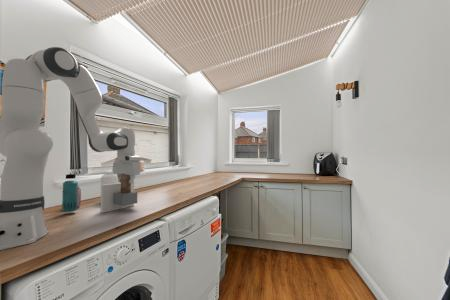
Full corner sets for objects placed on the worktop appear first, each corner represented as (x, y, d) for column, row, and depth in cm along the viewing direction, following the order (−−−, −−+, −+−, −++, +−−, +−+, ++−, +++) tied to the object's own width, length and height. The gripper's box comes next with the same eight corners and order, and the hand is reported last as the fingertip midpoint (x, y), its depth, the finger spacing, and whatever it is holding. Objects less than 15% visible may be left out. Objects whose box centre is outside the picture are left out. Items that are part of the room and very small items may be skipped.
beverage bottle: (70, 211, 112) (71, 173, 112) (80, 212, 110) (81, 173, 111) (58, 214, 105) (59, 174, 106) (69, 215, 104) (70, 174, 105)
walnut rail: (124, 202, 112) (124, 172, 113) (120, 201, 114) (120, 172, 115) (130, 201, 115) (131, 171, 116) (126, 200, 117) (127, 171, 118)
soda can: (72, 210, 115) (72, 187, 115) (61, 209, 116) (62, 187, 116) (83, 207, 121) (84, 186, 122) (73, 206, 123) (73, 185, 123)
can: (96, 202, 134) (97, 170, 134) (116, 199, 144) (116, 169, 145) (106, 205, 127) (107, 171, 127) (126, 201, 137) (126, 170, 138)
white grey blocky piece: (113, 215, 105) (114, 186, 105) (100, 211, 111) (101, 184, 111) (144, 207, 120) (144, 182, 121) (131, 205, 126) (131, 181, 127)
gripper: (109, 157, 118) (109, 182, 118) (132, 157, 107) (132, 184, 107) (120, 157, 124) (119, 181, 123) (143, 157, 113) (142, 183, 112)
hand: (125, 183), depth 115 cm, fingers open, 8 cm apart
